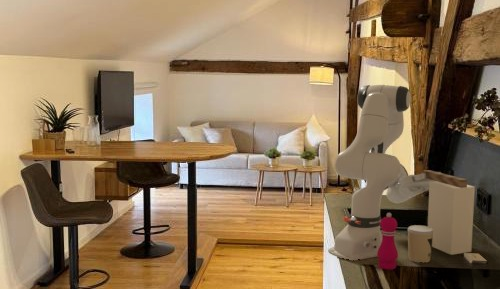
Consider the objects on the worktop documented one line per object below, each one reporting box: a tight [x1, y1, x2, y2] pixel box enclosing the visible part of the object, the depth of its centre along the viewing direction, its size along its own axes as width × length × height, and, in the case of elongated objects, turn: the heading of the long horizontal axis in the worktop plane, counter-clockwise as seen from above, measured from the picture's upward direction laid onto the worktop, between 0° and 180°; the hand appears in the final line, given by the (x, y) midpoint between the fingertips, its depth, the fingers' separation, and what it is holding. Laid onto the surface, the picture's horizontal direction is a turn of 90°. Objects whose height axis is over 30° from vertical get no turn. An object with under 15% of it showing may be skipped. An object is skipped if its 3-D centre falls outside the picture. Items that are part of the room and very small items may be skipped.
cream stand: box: [427, 181, 476, 256], centre depth 219 cm, size 14×10×26 cm
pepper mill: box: [377, 212, 399, 270], centre depth 198 cm, size 7×7×20 cm
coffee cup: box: [407, 224, 434, 264], centre depth 207 cm, size 9×9×12 cm
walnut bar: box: [422, 169, 468, 188], centre depth 221 cm, size 22×3×3 cm, turn 22°
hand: (431, 174), depth 228 cm, fingers open, 6 cm apart
